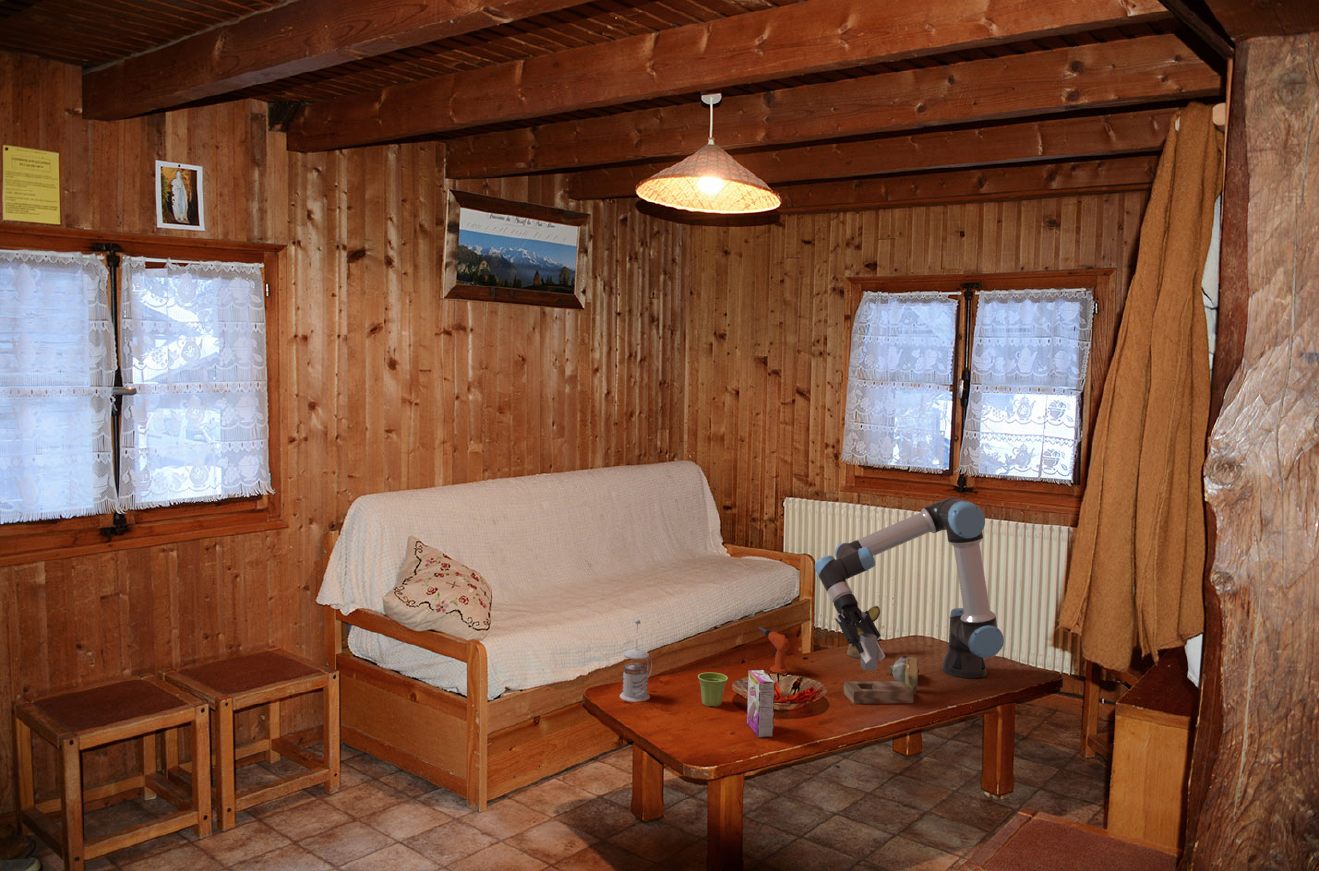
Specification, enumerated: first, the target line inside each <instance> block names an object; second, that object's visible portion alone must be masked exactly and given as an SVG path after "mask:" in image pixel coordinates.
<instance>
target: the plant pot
mask: <svg viewBox="0 0 1319 871" xmlns="http://www.w3.org/2000/svg"><path fill="white" fill-rule="evenodd" d="M728 677H729V676H727V675H725V674H723V673H719V672H710V671H709V672H701V673H699V674H697V678H698V681H699V685H700V696H701V703H702V705H704V706H706V707H720V706H721V705H722V702H723V697H724V691H725V687H726V686H725V685H726V684H727V681H728V679H729V678H728Z"/></svg>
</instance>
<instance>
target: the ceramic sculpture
mask: <svg viewBox="0 0 1319 871" xmlns="http://www.w3.org/2000/svg"><path fill="white" fill-rule="evenodd" d="M907 657H908V656H906V655H902V656H901V657H898V658H897V659H895V662H894V664H893V665H892V664H890V665H889V666H888V670H889V672H890V673H892V676H893V679H894V680H895V681H903V682H904V683H905V671H906V658H907ZM919 672H920V669H919V668H918V674H919Z"/></svg>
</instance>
